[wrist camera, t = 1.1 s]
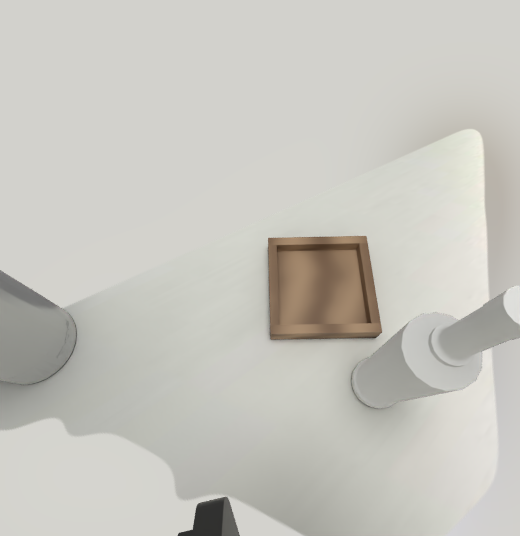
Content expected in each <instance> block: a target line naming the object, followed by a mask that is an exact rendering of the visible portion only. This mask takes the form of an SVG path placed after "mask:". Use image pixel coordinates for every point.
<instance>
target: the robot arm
mask: <svg viewBox="0 0 520 536" xmlns="http://www.w3.org/2000/svg"><path fill="white" fill-rule="evenodd" d="M75 342H76V326H75V324H74V321H73V319H72V317H71V316H70V315H69V314H68V313H67V312H66V311H65V310H64V309H62V308H60V307H59V306H57V305H55V304H54V303H52V302H51V301H49V300H47V299H46V298H45V297H43V296H41V295H40V294H38V293H36V292H34V291H33V290H32V289H30V288H28V287H27V286H25V285H23V284H22V283H20V282H19V281H17V280H15V279H14V278H12V277H10V276H9V275H7V274H5V273H4V272H2V271H1V270H0V380H1V381H6V382H11V383H16V384H33V383H37V382H40V381H42V380H45V379H47V378H48V377H50V376H51V375H53V374H55V373H56V372H57V371H58V370H59V369H60V368H61V367H62V366H63V365H64V364H65V362H66V361H67V360H68V358H69V357H70V355H71V353H72V351H73V348H74V345H75ZM178 536H240V535H239V532H238V529H237V525H236V522H235V519H234V515H233V512H232V509H231V505H230V502H229V500H228V498H227V497H223V498H219V499H214V500H210V501H206V502H202V503H199V504H198V505H197V508H196V513H195V519H194V525H193V530H190V531H186V532H181V533H179V534H178Z"/></svg>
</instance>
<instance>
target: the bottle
mask: <svg viewBox="0 0 520 536" xmlns="http://www.w3.org/2000/svg"><path fill="white" fill-rule="evenodd" d="M517 338H520V286H513V287H512V288H510V289H508V290H507V291H505V292H503V293H502V294H500V295H499V296H497V297H495V298H494V299H492V300H490V301H489V302H487V303H486V304H484V305H483V307H481V308H479V309H478V310H476V311H474V312H473V313H471V314H469V315H468V316H466V317H464V318H463V319H461V320H457V319H456V318H454V317H452V316H450V315H446V314H442V313H438V312H433V313H425V314H421V315H419V316H418V317H416V318H414V319H413V320H411V321H410V322H408V323H407V324H406V325H405V326H404V327H403V328H402V329H401V330H400V331H398V332H397V333H396V334H395V335H394V336H393V337H392V338H391V339H389V340H388V341H387V342H386V343H385V344H384V345H383V346H382V347H380V348H379V349H378V350H377V351H376V352H375V353H374V354H373V355H372V356H370V357H367V358H366V359H364V360H362V361H361V362H359V363H358V365H357V366H356V368H355V369H354V371H353V374H352V380H351V382H352V387H353V391H354V393H355V394H356V396H357V397H358V399H359V400H360V401H362V402H363V403H364V404H366V405H367V406H370V407H374V408H377V409H378V408H386V407H391V406H392V405H394V404H395V403H397V402H401V401H406V400H411V399H416V398H421V397H427V396H432V395H437V394H442V393H447V392H452V391H457V390H462V389H464V388H466V387H467V386H469V385H470V384H472V383H473V382H475V381H476V379H477V377H478V375H479V373H480V371H481V369H482V351H484V350H487V349H489V348H491V347H494V346H496V345H499V344H501V343H504V342H506V341H509V340H514V339H517Z"/></svg>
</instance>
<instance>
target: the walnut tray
mask: <svg viewBox="0 0 520 536" xmlns="http://www.w3.org/2000/svg"><path fill="white" fill-rule="evenodd" d="M268 254H269V296H270V338H271V339H331V338H376V337H377V336H378V335H380V334H381V333H382V329H381V322H380V316H379V310H378V304H377V298H376V292H375V286H374V280H373V274H372V267H371V261H370V255H369V249H368V243H367V237H366V236H343V237H294V238H268Z"/></svg>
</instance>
